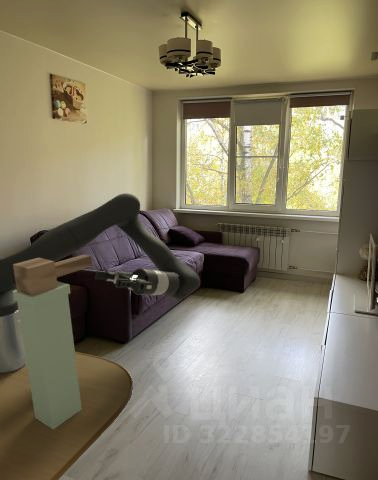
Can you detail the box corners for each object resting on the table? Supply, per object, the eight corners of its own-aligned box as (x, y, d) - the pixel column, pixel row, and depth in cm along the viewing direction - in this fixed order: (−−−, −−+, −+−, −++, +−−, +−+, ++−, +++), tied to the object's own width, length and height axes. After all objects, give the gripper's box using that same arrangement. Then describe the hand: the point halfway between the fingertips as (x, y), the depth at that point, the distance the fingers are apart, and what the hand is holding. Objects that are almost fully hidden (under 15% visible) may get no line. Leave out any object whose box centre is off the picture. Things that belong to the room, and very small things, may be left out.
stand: (32, 418, 87) (12, 291, 80) (64, 397, 94) (49, 279, 87) (51, 431, 83) (32, 298, 75) (84, 408, 90) (69, 284, 82)
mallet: (17, 290, 80) (13, 264, 78) (81, 269, 93) (79, 246, 91) (32, 296, 76) (28, 268, 75) (97, 273, 89) (95, 249, 88)
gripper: (136, 264, 112) (93, 259, 100) (170, 275, 103) (127, 271, 91) (130, 288, 112) (86, 286, 100) (164, 301, 103) (120, 300, 91)
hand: (106, 279), depth 95 cm, fingers open, 8 cm apart
